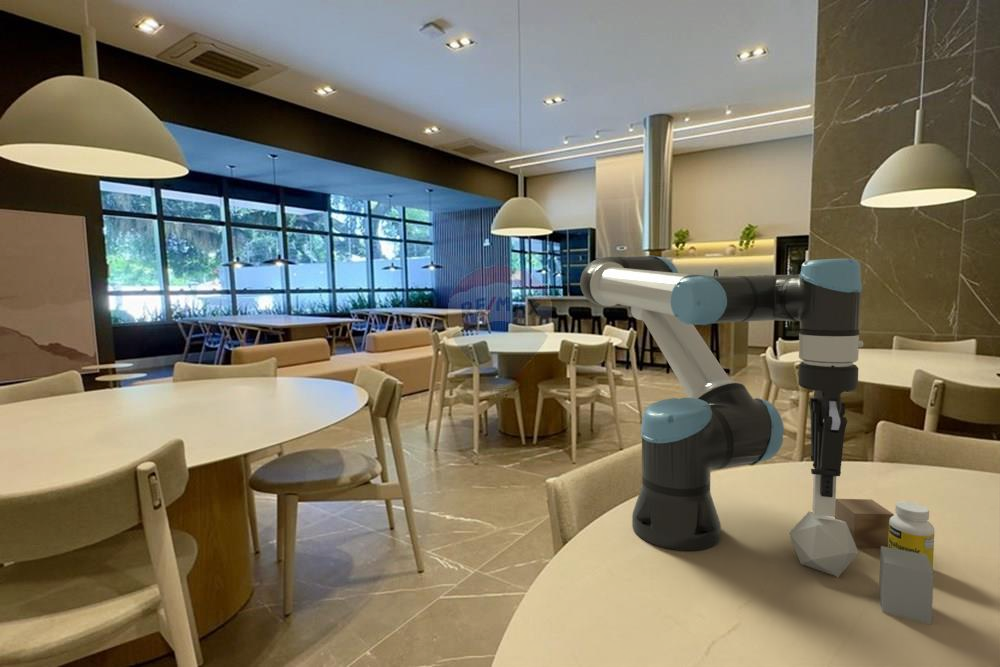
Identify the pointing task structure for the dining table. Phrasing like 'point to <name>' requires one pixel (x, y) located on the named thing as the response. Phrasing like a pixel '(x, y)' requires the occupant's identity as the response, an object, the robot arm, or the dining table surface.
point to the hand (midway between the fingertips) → (823, 513)
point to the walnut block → (865, 521)
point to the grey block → (906, 584)
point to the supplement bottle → (912, 529)
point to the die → (823, 543)
